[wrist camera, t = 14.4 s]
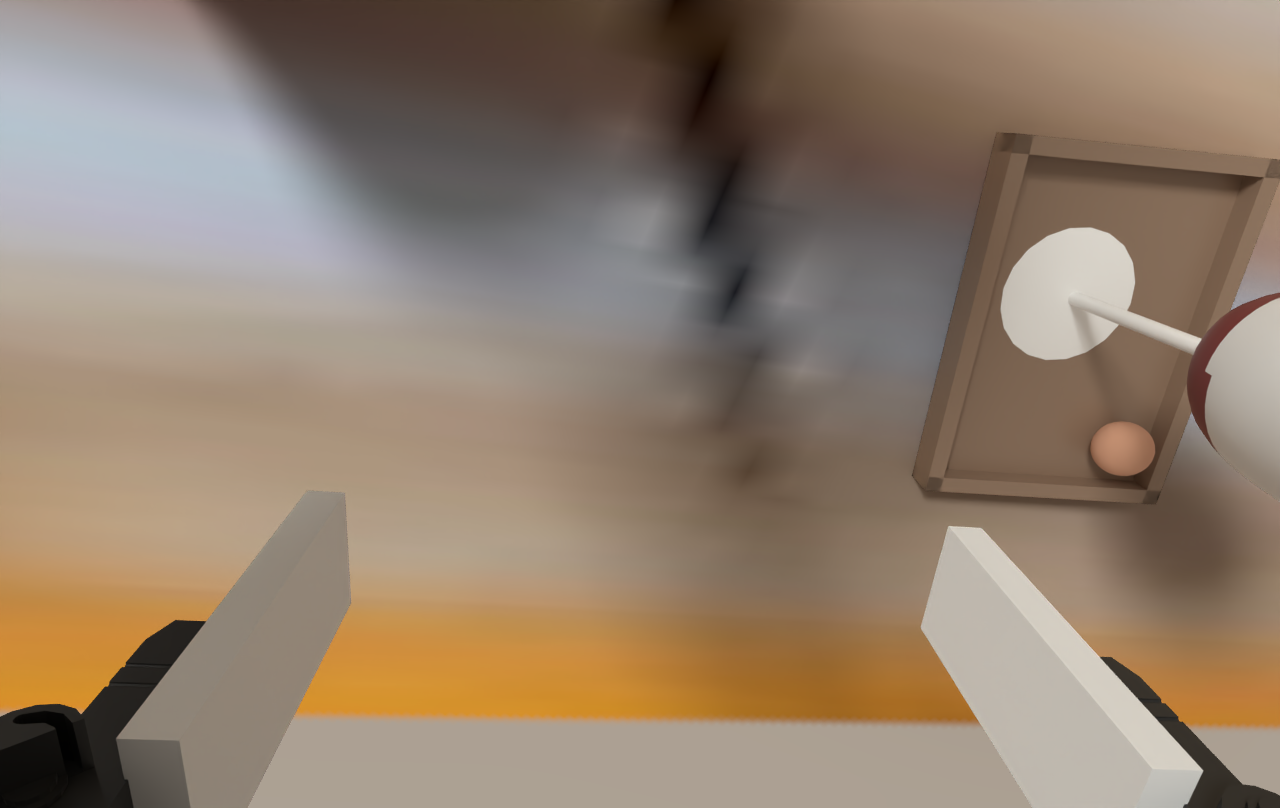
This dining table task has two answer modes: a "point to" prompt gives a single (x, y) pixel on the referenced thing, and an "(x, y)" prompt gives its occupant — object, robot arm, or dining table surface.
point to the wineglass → (1098, 302)
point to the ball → (1122, 448)
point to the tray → (1126, 360)
